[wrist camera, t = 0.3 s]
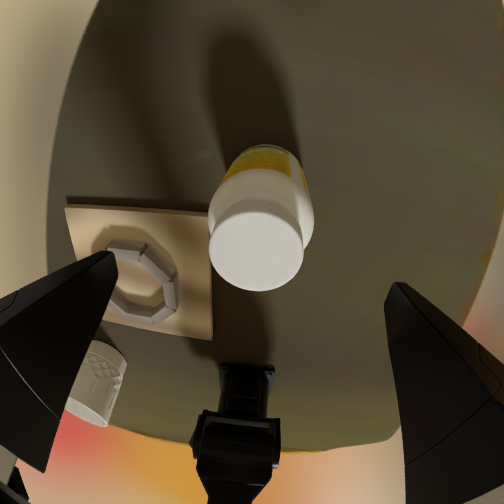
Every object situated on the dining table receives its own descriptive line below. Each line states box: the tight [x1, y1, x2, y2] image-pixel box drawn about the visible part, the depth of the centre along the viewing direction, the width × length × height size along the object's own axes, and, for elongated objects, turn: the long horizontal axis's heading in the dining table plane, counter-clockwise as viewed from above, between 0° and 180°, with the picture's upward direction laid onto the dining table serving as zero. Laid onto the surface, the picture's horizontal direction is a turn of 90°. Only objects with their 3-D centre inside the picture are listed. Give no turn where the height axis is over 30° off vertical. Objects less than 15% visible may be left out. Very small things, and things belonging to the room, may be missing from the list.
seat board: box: [64, 204, 213, 341], centre depth 25 cm, size 14×14×2 cm
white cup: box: [65, 340, 127, 427], centre depth 30 cm, size 8×8×10 cm
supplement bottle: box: [208, 145, 314, 291], centre depth 16 cm, size 5×5×10 cm
